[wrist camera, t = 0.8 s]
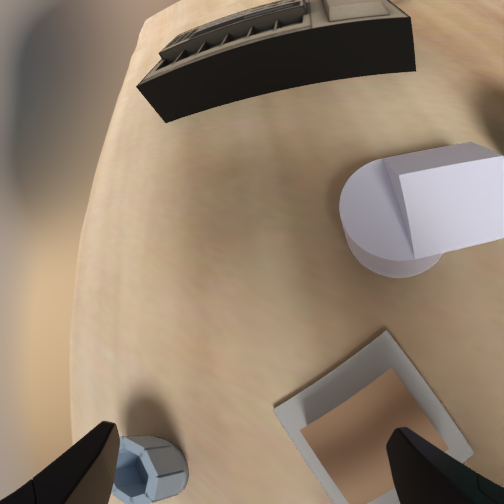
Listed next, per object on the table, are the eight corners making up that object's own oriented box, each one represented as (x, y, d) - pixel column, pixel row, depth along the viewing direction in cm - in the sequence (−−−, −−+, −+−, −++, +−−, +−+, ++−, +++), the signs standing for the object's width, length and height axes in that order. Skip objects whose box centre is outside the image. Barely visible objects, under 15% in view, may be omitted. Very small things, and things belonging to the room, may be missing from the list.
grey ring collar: (201, 486, 21) (169, 496, 17) (153, 502, 21) (120, 511, 17) (170, 427, 24) (136, 428, 20) (128, 449, 24) (93, 450, 20)
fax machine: (407, -11, 42) (399, -49, 34) (481, 72, 27) (483, 10, 19) (207, 28, 58) (189, -3, 50) (167, 124, 44) (131, 80, 36)
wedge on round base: (466, 166, 24) (336, 193, 28) (476, 113, 18) (321, 141, 22) (502, 254, 19) (355, 288, 23) (531, 210, 14) (346, 251, 18)
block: (441, 443, 16) (448, 448, 14) (356, 499, 16) (353, 510, 14) (390, 369, 19) (391, 367, 17) (307, 426, 20) (299, 430, 18)
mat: (473, 452, 14) (474, 453, 14) (354, 530, 15) (354, 532, 15) (386, 330, 21) (386, 329, 21) (274, 409, 22) (272, 409, 21)
